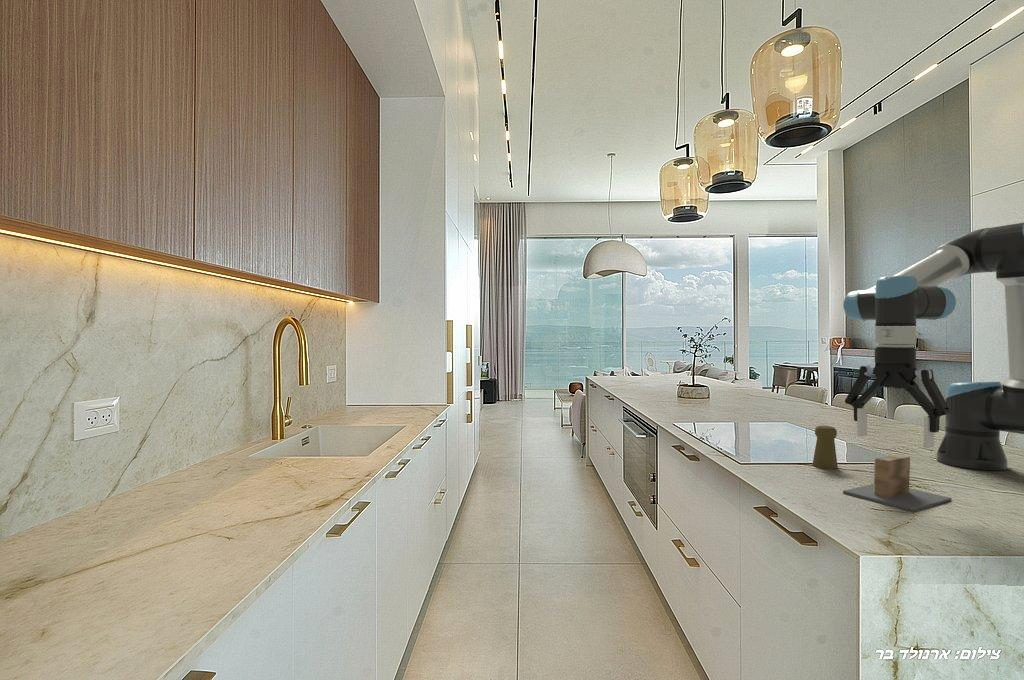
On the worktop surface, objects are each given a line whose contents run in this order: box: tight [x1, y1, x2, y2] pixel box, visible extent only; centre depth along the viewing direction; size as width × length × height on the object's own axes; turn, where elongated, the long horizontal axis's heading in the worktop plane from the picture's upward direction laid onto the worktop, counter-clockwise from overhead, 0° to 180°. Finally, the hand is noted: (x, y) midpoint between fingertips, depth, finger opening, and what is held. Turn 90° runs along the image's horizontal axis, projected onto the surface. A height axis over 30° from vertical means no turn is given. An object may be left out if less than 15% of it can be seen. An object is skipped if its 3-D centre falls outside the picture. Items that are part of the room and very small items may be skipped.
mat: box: [842, 483, 952, 512], centre depth 121 cm, size 16×14×1 cm
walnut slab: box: [873, 453, 911, 498], centre depth 121 cm, size 9×3×8 cm, turn 119°
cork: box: [811, 424, 839, 470], centre depth 148 cm, size 6×6×11 cm
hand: (893, 441), depth 122 cm, fingers open, 13 cm apart
